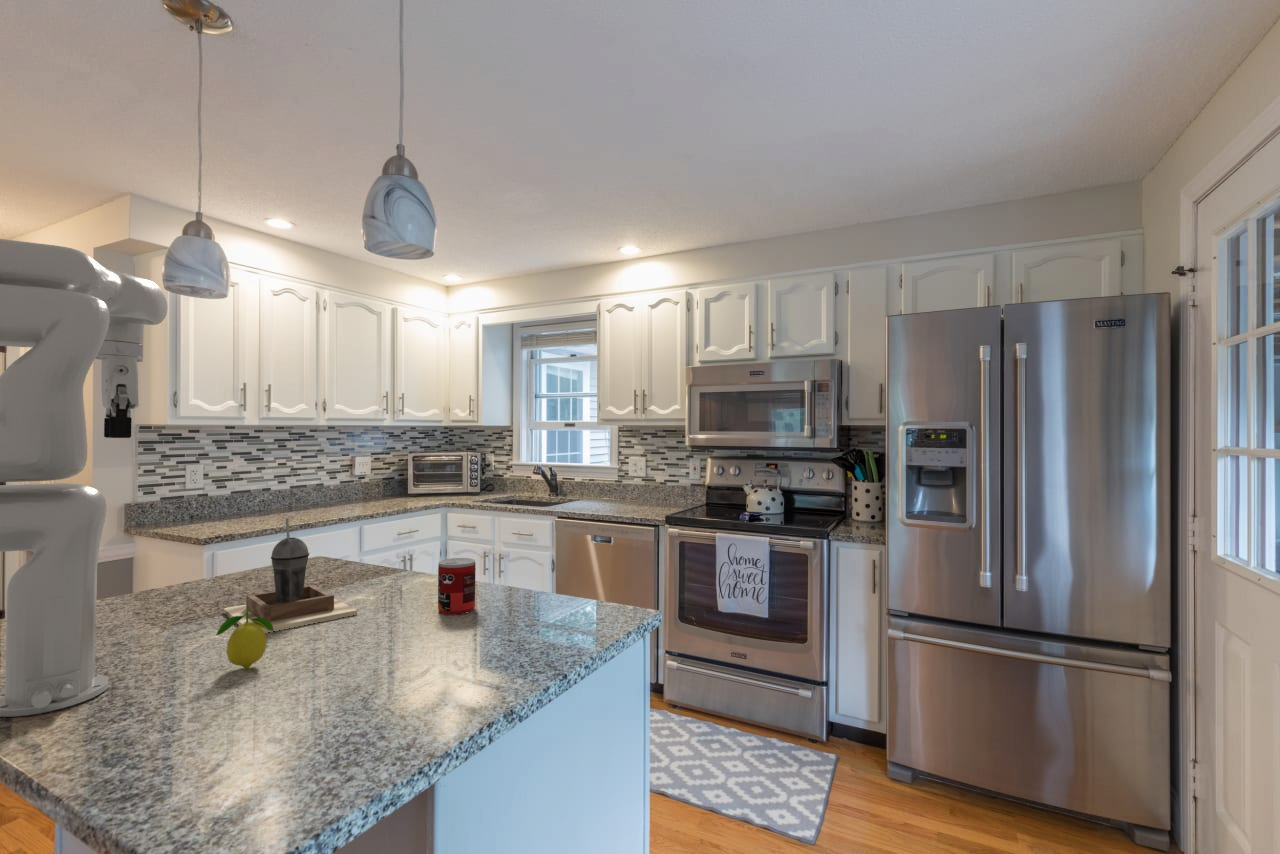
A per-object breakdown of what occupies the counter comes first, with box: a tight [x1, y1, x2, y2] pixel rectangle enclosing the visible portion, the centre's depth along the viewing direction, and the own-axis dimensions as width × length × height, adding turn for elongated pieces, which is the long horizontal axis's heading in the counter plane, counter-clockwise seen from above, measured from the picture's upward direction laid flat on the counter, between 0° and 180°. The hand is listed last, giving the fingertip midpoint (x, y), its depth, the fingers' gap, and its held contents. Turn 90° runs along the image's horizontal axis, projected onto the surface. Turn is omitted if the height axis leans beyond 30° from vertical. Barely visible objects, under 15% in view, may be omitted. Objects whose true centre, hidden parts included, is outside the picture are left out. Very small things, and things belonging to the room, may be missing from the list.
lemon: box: [215, 608, 274, 670], centre depth 101 cm, size 7×6×10 cm
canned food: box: [437, 557, 476, 615], centre depth 135 cm, size 8×8×11 cm
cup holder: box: [222, 584, 358, 634], centre depth 132 cm, size 22×20×4 cm
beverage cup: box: [270, 517, 310, 604], centre depth 132 cm, size 7×7×20 cm
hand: (117, 437), depth 121 cm, fingers open, 9 cm apart
